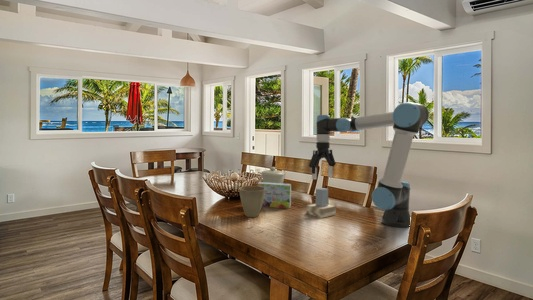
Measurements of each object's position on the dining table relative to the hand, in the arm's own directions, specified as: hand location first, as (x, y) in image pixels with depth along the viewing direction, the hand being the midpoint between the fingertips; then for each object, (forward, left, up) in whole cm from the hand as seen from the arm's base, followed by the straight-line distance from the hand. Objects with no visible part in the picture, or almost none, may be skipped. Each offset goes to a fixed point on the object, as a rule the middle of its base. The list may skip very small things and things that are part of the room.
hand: (322, 178), depth 200 cm
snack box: (+30, +11, -22) cm, 39 cm away
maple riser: (0, 0, -21) cm, 21 cm away
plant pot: (+21, +35, -22) cm, 46 cm away
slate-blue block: (0, 0, -16) cm, 16 cm away
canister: (+57, -10, -22) cm, 61 cm away
